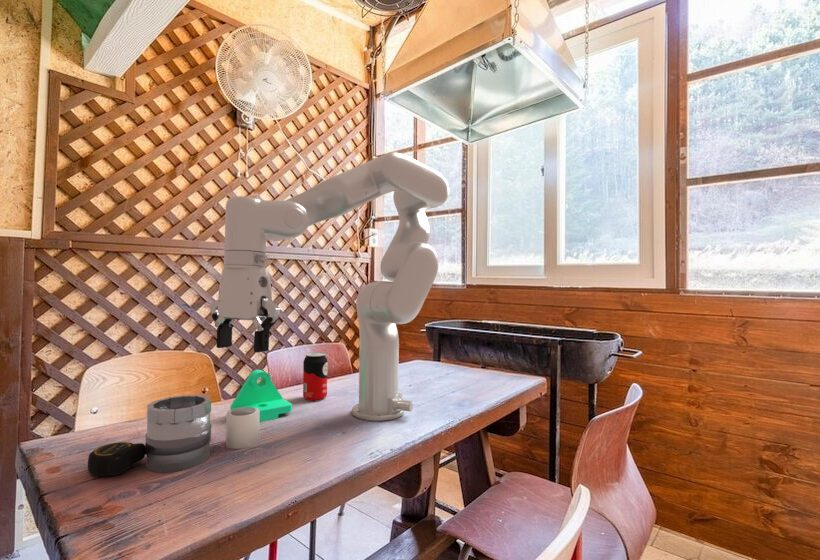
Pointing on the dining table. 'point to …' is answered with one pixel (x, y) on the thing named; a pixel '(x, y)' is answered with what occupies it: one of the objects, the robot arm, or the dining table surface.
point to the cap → (242, 427)
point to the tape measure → (115, 458)
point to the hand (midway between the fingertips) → (242, 349)
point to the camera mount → (261, 396)
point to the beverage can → (315, 376)
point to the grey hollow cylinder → (178, 433)
